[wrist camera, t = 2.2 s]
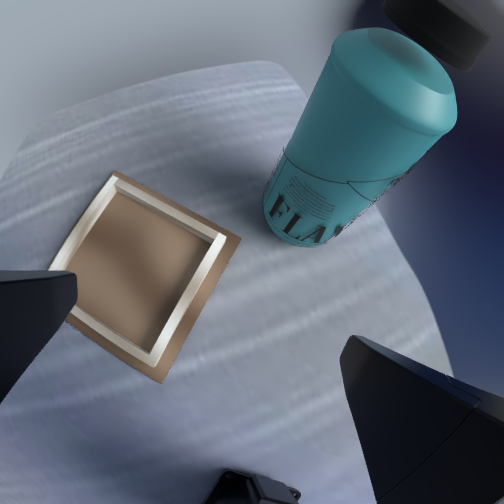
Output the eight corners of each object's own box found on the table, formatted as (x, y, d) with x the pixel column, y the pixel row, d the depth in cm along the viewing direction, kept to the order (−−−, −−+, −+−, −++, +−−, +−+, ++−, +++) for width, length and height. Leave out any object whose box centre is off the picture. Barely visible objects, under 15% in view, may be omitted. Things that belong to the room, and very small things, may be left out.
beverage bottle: (242, 232, 23) (355, -44, 4) (276, 169, 25) (378, -50, 6) (317, 271, 23) (543, 97, 4) (342, 205, 25) (500, 31, 7)
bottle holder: (162, 383, 19) (158, 386, 17) (36, 294, 19) (26, 290, 17) (240, 240, 23) (243, 232, 21) (115, 172, 23) (111, 162, 21)
